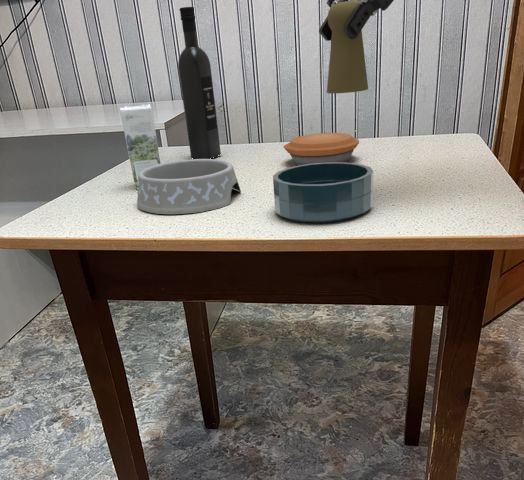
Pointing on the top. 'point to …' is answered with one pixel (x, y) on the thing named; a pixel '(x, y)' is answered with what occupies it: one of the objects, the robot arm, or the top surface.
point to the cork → (345, 53)
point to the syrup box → (140, 138)
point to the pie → (321, 148)
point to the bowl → (323, 191)
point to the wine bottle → (197, 93)
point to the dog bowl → (186, 186)
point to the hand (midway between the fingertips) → (336, 35)
